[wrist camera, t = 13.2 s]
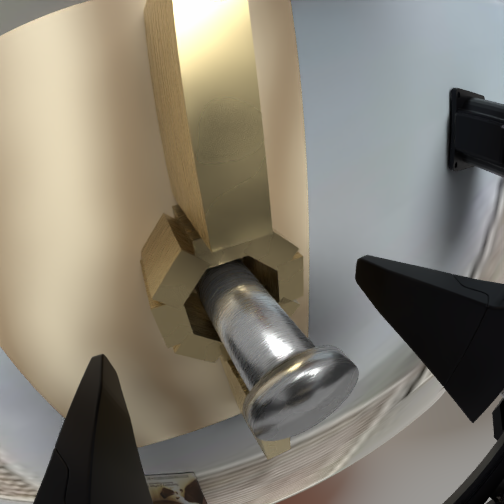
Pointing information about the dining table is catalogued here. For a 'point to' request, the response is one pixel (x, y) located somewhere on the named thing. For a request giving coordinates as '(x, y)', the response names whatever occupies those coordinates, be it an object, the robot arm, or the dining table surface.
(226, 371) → the loose leaf
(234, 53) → the hinge base
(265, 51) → the mount board
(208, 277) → the pin
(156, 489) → the coffee box
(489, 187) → the dining table surface
